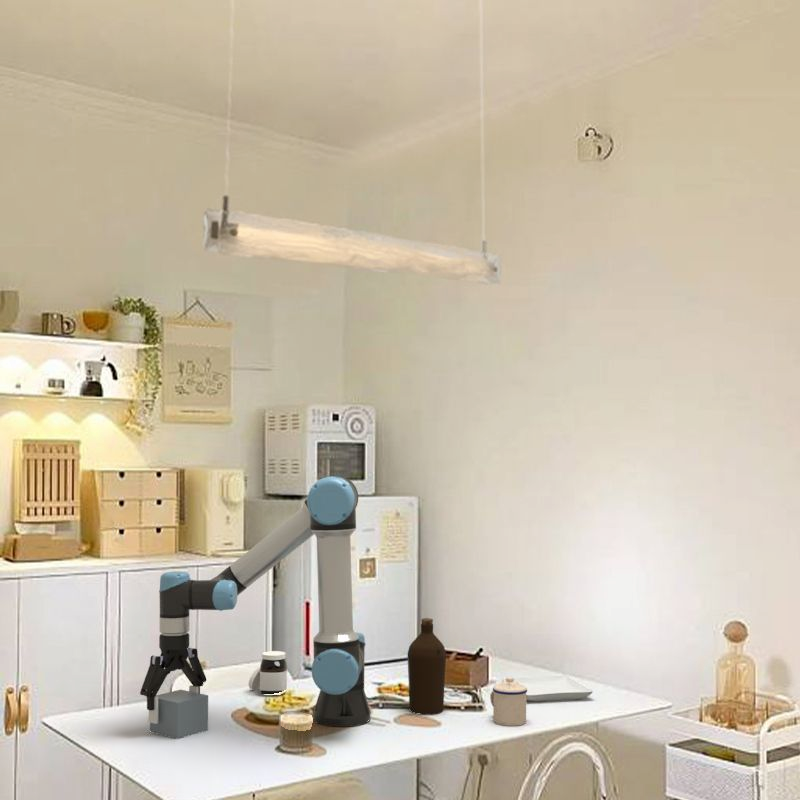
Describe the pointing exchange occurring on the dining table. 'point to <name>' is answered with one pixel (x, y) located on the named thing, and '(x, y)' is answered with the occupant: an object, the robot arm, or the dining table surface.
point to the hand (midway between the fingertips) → (174, 717)
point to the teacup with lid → (509, 703)
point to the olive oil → (426, 671)
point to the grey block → (181, 714)
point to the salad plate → (553, 688)
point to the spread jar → (270, 673)
